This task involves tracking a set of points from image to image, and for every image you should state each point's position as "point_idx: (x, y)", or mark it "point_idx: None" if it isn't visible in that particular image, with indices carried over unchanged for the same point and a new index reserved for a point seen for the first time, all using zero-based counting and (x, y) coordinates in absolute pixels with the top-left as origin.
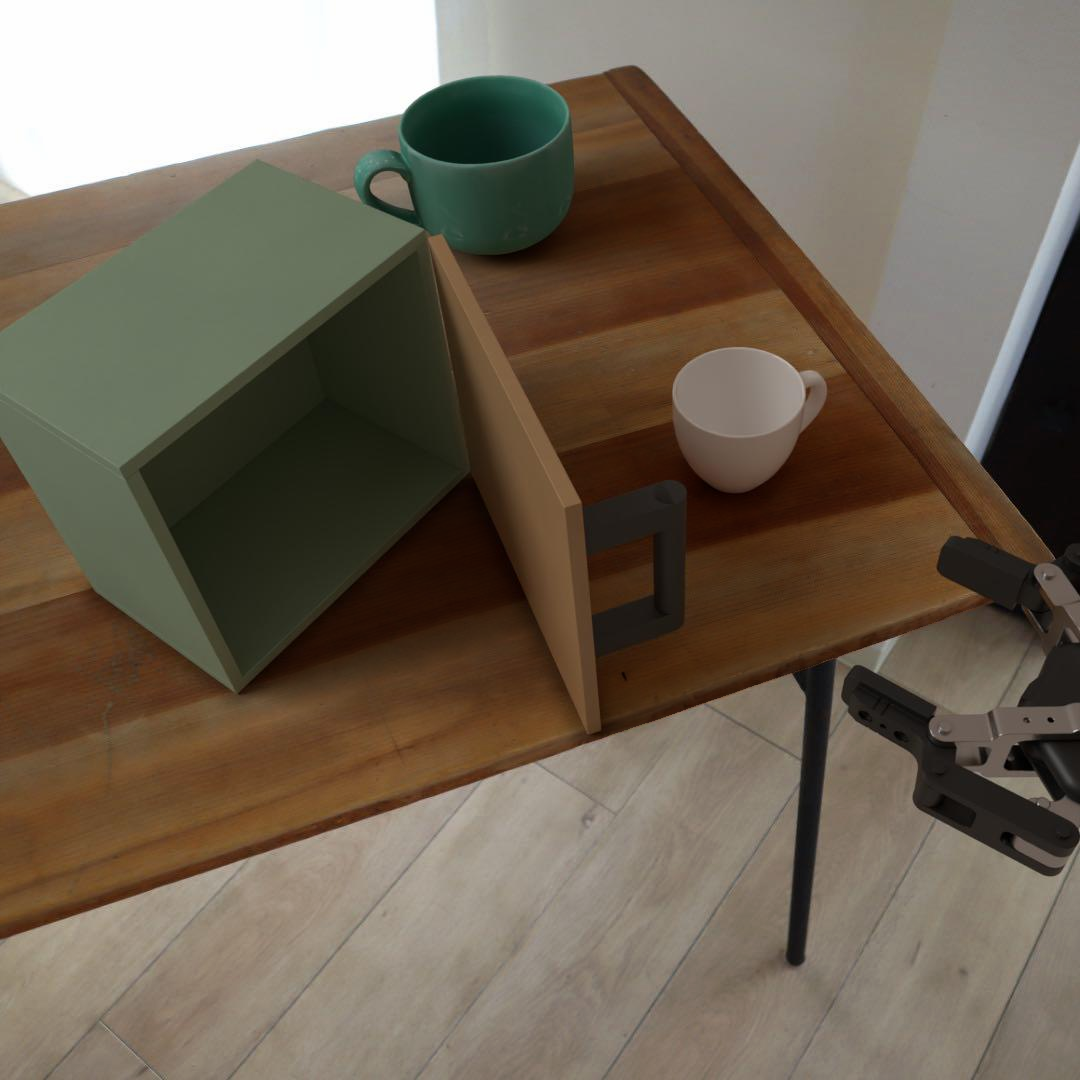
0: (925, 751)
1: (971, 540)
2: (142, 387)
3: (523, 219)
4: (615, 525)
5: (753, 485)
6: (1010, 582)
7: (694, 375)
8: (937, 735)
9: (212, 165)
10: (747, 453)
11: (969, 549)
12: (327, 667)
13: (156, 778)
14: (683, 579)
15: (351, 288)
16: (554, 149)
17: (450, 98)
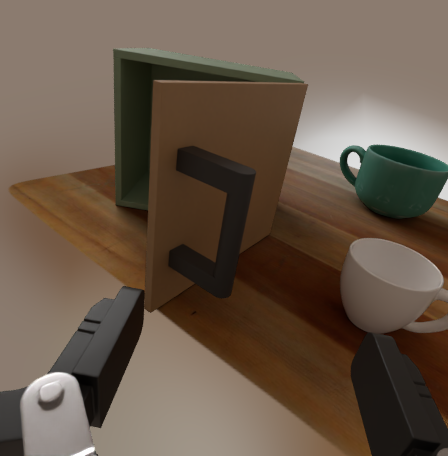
0: (12, 391)
1: (407, 361)
2: (159, 54)
3: (390, 194)
4: (199, 158)
5: (361, 321)
6: (398, 431)
7: (384, 252)
8: (32, 388)
9: (323, 157)
10: (364, 285)
11: (388, 354)
12: (140, 221)
13: (68, 198)
14: (229, 255)
15: (251, 73)
16: (425, 174)
17: (405, 155)
